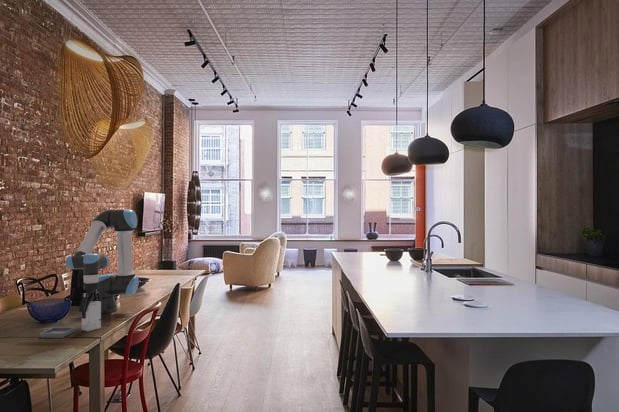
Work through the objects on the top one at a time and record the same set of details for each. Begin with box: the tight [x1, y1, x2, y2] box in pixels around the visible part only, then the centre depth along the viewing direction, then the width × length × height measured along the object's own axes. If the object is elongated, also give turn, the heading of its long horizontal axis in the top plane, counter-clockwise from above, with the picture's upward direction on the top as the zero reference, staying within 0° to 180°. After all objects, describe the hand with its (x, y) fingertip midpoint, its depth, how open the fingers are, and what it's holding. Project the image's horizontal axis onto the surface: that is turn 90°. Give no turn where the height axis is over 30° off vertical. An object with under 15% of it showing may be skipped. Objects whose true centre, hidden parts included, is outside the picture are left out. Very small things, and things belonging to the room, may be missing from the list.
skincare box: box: [81, 300, 102, 332], centre depth 259 cm, size 8×6×15 cm
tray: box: [39, 326, 77, 339], centre depth 248 cm, size 12×12×2 cm
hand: (91, 321), depth 258 cm, fingers open, 13 cm apart
